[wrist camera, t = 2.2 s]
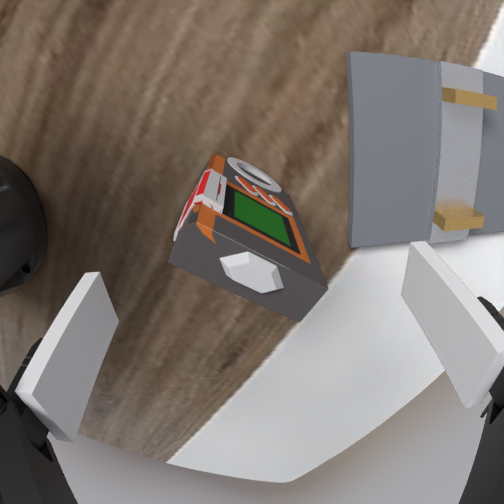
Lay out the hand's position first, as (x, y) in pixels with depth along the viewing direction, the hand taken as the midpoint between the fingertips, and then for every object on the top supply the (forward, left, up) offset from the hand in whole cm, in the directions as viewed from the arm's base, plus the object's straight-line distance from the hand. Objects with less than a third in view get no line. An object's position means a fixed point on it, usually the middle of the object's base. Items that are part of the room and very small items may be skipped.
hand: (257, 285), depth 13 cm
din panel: (+19, +2, -15) cm, 25 cm away
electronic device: (0, 0, -15) cm, 15 cm away
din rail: (+19, +2, -13) cm, 23 cm away
